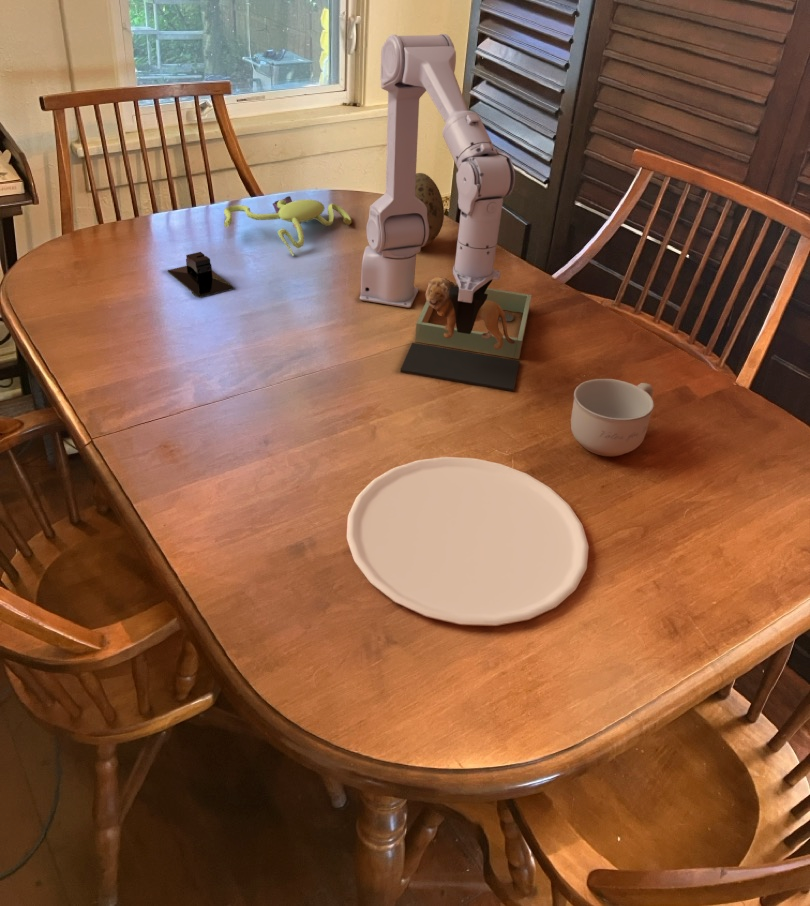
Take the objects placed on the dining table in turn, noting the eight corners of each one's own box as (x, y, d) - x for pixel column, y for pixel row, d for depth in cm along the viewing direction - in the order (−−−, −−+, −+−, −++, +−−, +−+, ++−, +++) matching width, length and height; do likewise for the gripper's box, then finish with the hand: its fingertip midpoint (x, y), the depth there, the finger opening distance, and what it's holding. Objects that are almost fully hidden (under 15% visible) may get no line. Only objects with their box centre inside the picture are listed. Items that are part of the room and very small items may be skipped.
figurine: (211, 237, 163) (209, 210, 159) (292, 201, 181) (291, 177, 178) (284, 262, 156) (283, 234, 152) (360, 222, 174) (361, 197, 171)
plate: (404, 663, 82) (405, 655, 81) (313, 488, 102) (313, 481, 102) (636, 590, 92) (639, 583, 91) (511, 445, 113) (512, 438, 112)
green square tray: (414, 341, 134) (416, 323, 132) (434, 297, 148) (435, 279, 146) (518, 359, 132) (522, 340, 130) (528, 312, 146) (531, 294, 144)
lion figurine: (418, 337, 124) (425, 282, 119) (424, 323, 128) (430, 269, 123) (513, 353, 122) (523, 298, 117) (515, 338, 127) (525, 285, 122)
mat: (400, 372, 126) (400, 369, 126) (412, 345, 133) (412, 342, 133) (513, 391, 124) (513, 389, 124) (519, 363, 131) (519, 360, 131)
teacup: (595, 474, 109) (608, 426, 104) (549, 430, 116) (559, 384, 111) (672, 450, 114) (688, 403, 110) (623, 410, 122) (636, 365, 117)
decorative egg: (430, 260, 161) (437, 186, 152) (380, 250, 164) (384, 176, 154) (447, 242, 169) (454, 170, 160) (400, 232, 172) (404, 161, 163)
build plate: (234, 289, 145) (232, 265, 143) (197, 299, 141) (195, 274, 139) (201, 263, 153) (199, 240, 150) (165, 272, 149) (163, 248, 146)
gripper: (498, 265, 110) (485, 351, 118) (510, 227, 121) (497, 308, 129) (448, 257, 111) (438, 343, 119) (464, 220, 122) (454, 301, 130)
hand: (466, 324), depth 124 cm, fingers closed on lion figurine, 4 cm apart
